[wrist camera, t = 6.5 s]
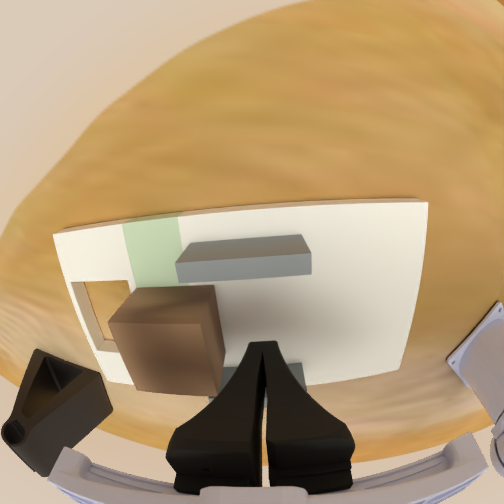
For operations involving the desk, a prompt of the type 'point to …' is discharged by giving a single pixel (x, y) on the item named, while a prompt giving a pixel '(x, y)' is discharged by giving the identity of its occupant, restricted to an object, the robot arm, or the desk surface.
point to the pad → (154, 249)
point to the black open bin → (53, 410)
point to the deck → (280, 281)
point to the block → (171, 339)
